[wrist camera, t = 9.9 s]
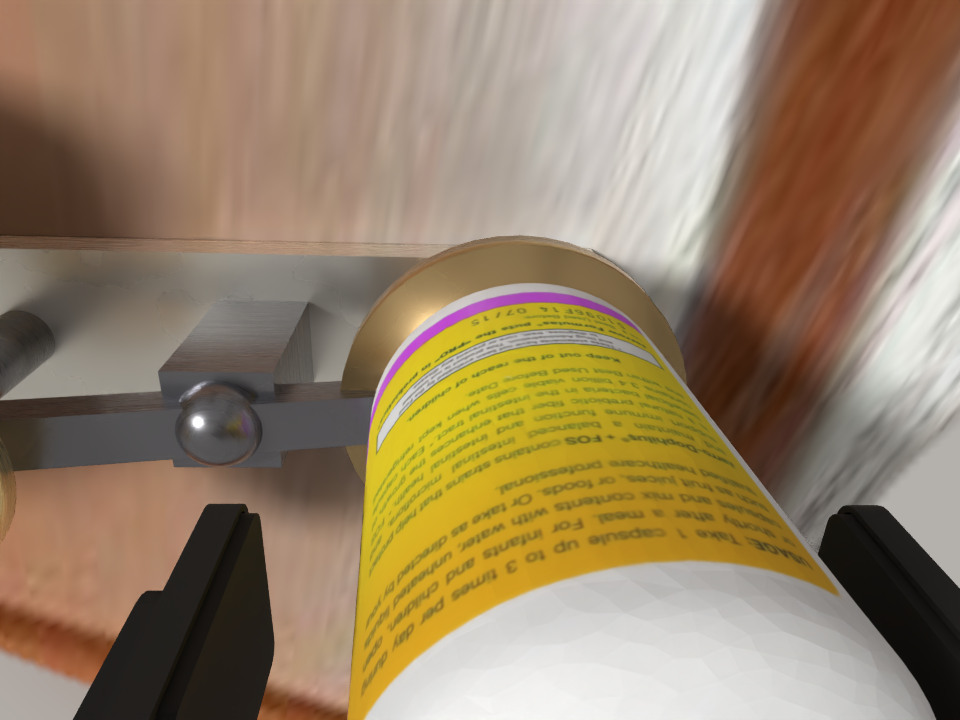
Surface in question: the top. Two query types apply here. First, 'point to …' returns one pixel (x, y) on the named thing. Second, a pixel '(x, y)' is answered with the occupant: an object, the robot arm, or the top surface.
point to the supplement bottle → (585, 541)
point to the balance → (236, 341)
